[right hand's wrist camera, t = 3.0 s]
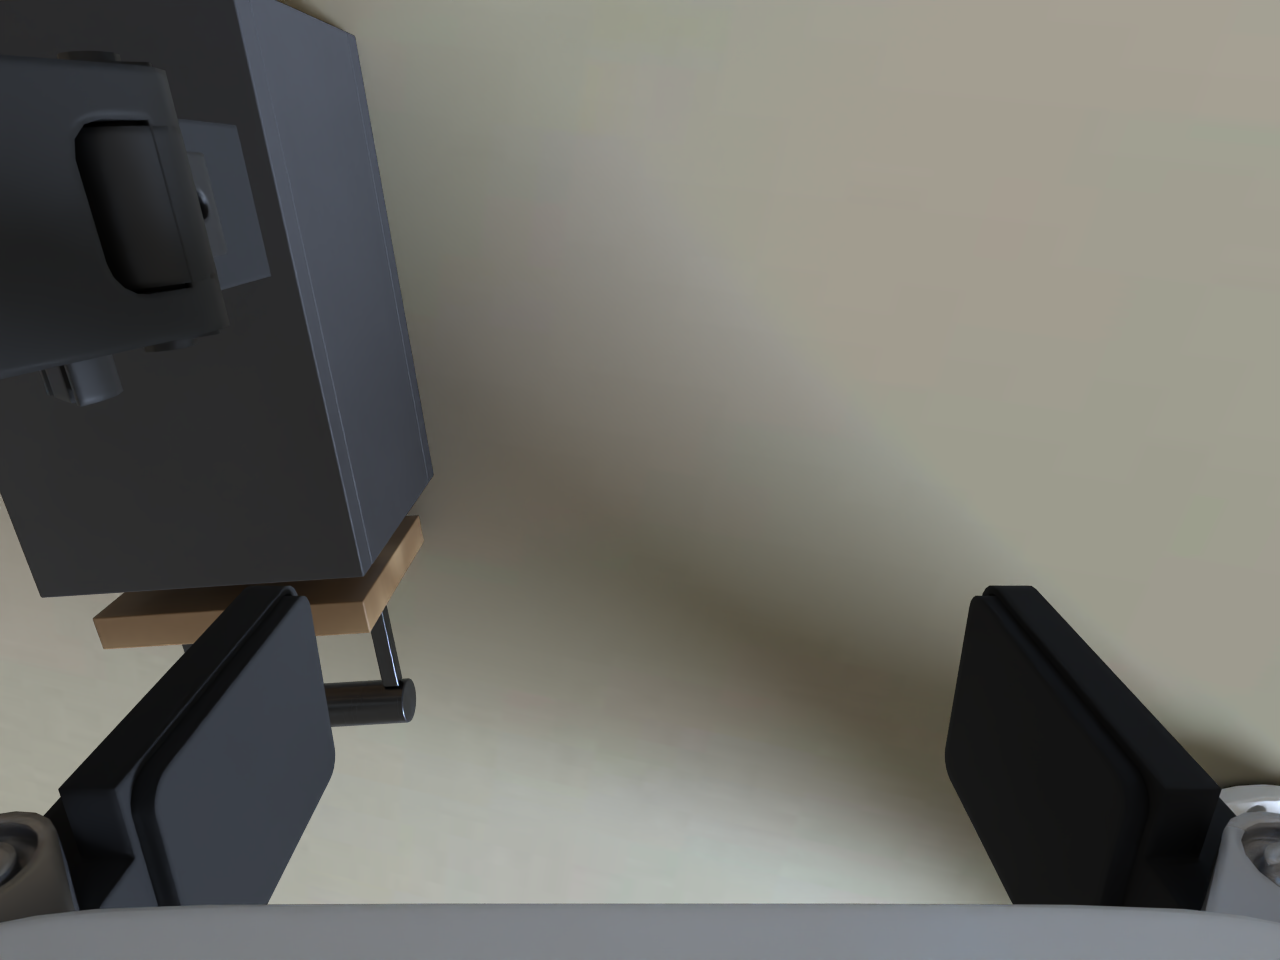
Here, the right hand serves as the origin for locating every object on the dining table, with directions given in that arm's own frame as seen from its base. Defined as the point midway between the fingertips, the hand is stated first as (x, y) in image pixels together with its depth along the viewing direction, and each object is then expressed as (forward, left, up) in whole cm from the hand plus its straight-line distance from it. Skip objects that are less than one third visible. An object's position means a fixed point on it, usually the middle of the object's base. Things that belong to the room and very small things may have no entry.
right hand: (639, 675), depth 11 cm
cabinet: (+4, +14, -21) cm, 25 cm away
